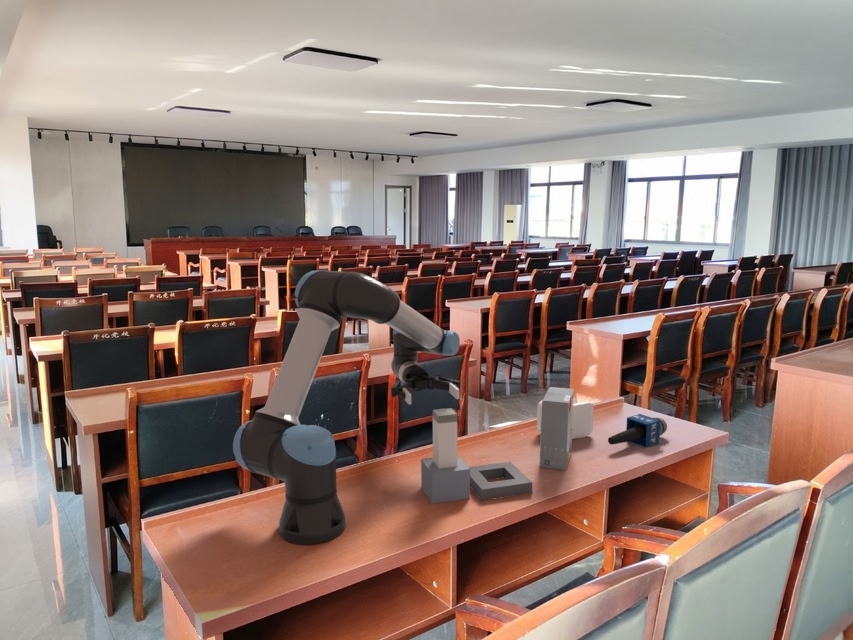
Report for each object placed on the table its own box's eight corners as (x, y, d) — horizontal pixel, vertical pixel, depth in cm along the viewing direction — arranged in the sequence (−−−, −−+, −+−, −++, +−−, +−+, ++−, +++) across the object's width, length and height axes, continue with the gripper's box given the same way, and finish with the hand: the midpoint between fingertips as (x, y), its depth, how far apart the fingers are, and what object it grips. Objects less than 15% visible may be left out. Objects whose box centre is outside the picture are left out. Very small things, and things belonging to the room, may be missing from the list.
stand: (432, 504, 153) (432, 474, 152) (421, 487, 163) (421, 458, 161) (469, 498, 156) (469, 468, 155) (456, 482, 166) (456, 454, 164)
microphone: (601, 424, 187) (652, 409, 200) (600, 448, 188) (651, 432, 202) (622, 432, 180) (673, 416, 194) (620, 457, 182) (672, 439, 195)
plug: (438, 468, 155) (438, 415, 153) (433, 461, 160) (432, 409, 157) (457, 466, 156) (457, 413, 154) (451, 458, 161) (450, 407, 159)
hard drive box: (566, 471, 172) (568, 403, 168) (539, 468, 174) (540, 400, 171) (571, 451, 186) (574, 388, 183) (546, 448, 189) (548, 385, 185)
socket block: (481, 500, 155) (481, 489, 154) (463, 477, 168) (463, 467, 168) (532, 493, 159) (532, 482, 158) (510, 471, 172) (510, 461, 172)
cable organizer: (555, 444, 192) (556, 409, 190) (535, 433, 201) (536, 399, 199) (593, 436, 198) (594, 402, 196) (572, 426, 208) (573, 393, 206)
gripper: (452, 384, 189) (477, 405, 169) (373, 392, 182) (389, 415, 162) (452, 360, 188) (477, 379, 168) (372, 368, 181) (388, 388, 161)
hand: (434, 397), depth 165 cm, fingers open, 13 cm apart
